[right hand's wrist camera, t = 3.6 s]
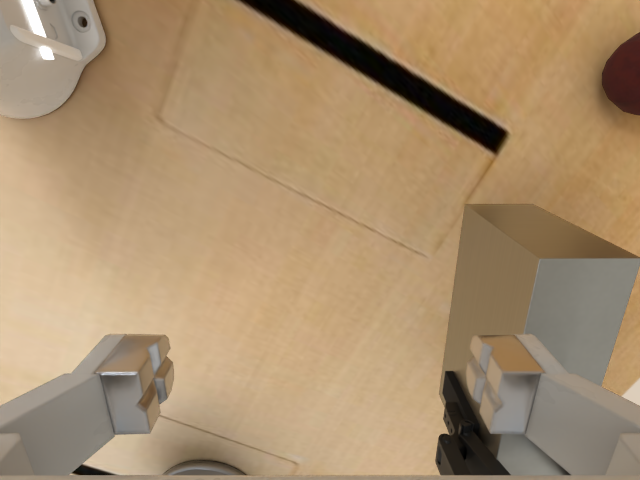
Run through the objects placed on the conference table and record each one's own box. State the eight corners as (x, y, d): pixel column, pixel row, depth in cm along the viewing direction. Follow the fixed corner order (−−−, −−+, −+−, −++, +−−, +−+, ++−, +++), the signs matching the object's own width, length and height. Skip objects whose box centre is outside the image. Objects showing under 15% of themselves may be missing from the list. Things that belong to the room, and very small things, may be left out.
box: (464, 203, 34) (540, 258, 23) (532, 203, 34) (642, 258, 23) (438, 393, 42) (485, 507, 30) (494, 393, 42) (563, 506, 30)
